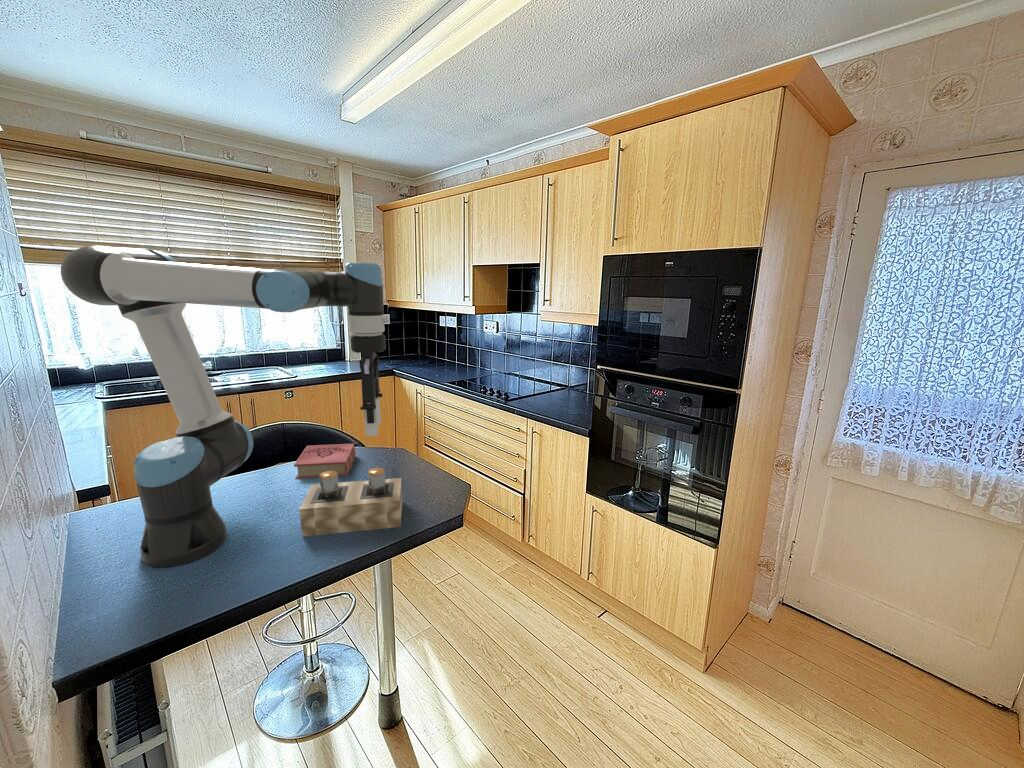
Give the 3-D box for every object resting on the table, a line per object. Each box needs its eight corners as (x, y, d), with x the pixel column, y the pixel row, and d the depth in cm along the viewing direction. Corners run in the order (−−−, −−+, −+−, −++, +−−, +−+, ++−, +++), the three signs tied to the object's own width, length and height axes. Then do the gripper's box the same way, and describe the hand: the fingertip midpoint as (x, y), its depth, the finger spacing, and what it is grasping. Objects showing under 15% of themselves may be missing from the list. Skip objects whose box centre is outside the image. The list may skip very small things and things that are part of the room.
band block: (302, 536, 99) (299, 508, 97) (314, 509, 111) (311, 484, 109) (400, 526, 104) (399, 500, 102) (402, 501, 115) (401, 477, 113)
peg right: (368, 500, 105) (366, 475, 103) (370, 492, 108) (368, 468, 107) (385, 499, 105) (384, 474, 104) (386, 491, 109) (385, 466, 108)
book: (350, 476, 130) (348, 461, 128) (295, 480, 127) (293, 464, 126) (357, 457, 143) (356, 443, 142) (308, 460, 140) (307, 445, 139)
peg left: (320, 504, 102) (317, 478, 101) (323, 496, 106) (321, 471, 104) (338, 503, 103) (335, 477, 102) (340, 495, 107) (338, 470, 105)
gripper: (381, 340, 88) (387, 444, 94) (387, 328, 107) (392, 415, 113) (342, 340, 87) (351, 446, 92) (356, 328, 106) (362, 416, 111)
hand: (373, 429), depth 103 cm, fingers open, 7 cm apart
